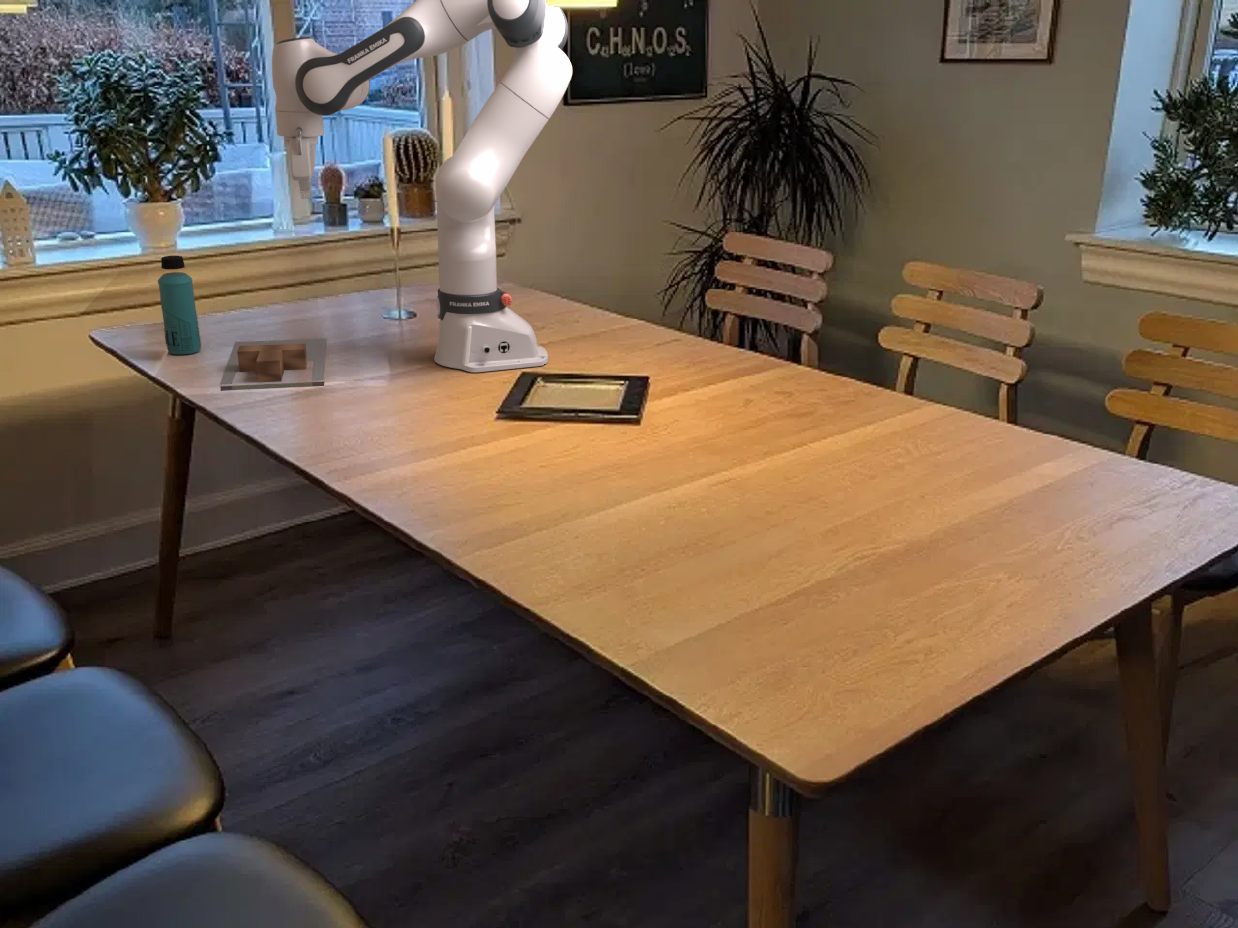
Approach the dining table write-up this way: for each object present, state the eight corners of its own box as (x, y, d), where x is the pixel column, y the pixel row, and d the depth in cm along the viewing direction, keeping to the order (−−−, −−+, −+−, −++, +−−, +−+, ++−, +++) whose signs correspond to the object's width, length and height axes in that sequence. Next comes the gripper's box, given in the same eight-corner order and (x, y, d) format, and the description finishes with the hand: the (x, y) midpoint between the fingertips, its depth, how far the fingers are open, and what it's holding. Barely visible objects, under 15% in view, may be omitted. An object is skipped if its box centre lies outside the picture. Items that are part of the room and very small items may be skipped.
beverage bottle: (208, 353, 222) (196, 253, 214) (193, 363, 216) (180, 260, 208) (177, 352, 222) (164, 252, 215) (161, 361, 216) (147, 259, 209)
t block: (307, 363, 213) (305, 343, 211) (304, 380, 203) (302, 359, 201) (241, 366, 210) (239, 345, 209) (235, 383, 200) (233, 362, 199)
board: (327, 344, 230) (326, 338, 230) (324, 385, 204) (323, 379, 203) (235, 347, 226) (235, 341, 226) (220, 390, 200) (220, 384, 200)
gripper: (315, 131, 209) (320, 205, 214) (318, 122, 227) (323, 191, 232) (280, 131, 207) (286, 206, 213) (286, 121, 226) (292, 191, 231)
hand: (305, 198), depth 223 cm, fingers closed
